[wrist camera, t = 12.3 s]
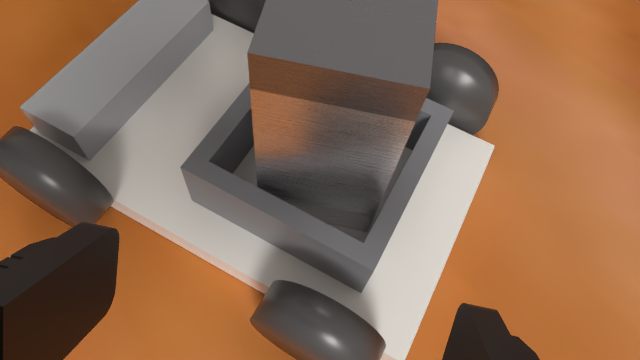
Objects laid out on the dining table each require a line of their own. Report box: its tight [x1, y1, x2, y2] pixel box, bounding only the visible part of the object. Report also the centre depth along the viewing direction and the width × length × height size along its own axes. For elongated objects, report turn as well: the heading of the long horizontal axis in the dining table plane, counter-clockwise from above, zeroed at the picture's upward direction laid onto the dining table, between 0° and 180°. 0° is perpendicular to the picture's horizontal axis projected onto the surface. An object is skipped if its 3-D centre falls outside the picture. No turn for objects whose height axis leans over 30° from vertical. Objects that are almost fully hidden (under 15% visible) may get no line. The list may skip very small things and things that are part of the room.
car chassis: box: [0, 0, 499, 360], centre depth 22 cm, size 20×15×5 cm
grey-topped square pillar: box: [247, 0, 438, 232], centre depth 18 cm, size 5×5×10 cm
